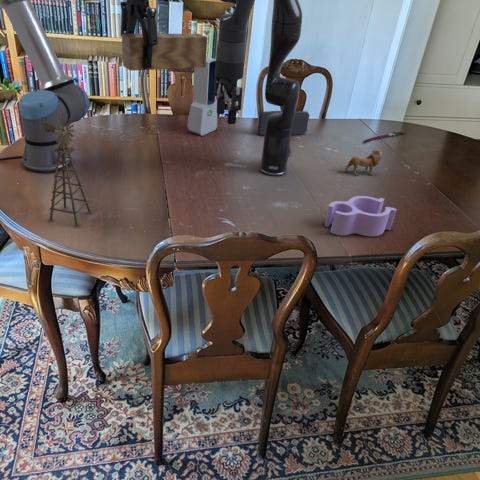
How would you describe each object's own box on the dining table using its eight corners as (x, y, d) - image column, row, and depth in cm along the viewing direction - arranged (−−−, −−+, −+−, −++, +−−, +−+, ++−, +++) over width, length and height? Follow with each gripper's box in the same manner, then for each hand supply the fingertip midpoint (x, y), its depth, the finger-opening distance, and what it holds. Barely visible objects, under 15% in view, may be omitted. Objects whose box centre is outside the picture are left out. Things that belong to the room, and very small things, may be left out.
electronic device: (200, 136, 194) (204, 61, 178) (186, 132, 197) (188, 57, 181) (217, 129, 203) (222, 57, 187) (203, 125, 206) (207, 53, 190)
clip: (337, 240, 135) (342, 219, 131) (318, 218, 145) (322, 198, 141) (395, 233, 141) (402, 213, 137) (373, 213, 151) (378, 194, 147)
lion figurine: (372, 168, 182) (378, 147, 177) (380, 174, 178) (386, 152, 173) (340, 171, 177) (345, 148, 172) (347, 177, 173) (352, 154, 168)
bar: (130, 70, 142) (129, 37, 137) (122, 65, 146) (121, 33, 141) (205, 67, 156) (207, 37, 150) (196, 63, 160) (198, 33, 154)
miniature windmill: (76, 226, 128) (64, 120, 112) (48, 221, 129) (32, 115, 113) (91, 211, 136) (82, 109, 120) (65, 206, 137) (52, 104, 121)
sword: (401, 131, 224) (402, 128, 223) (406, 133, 222) (407, 131, 221) (358, 142, 208) (358, 140, 207) (363, 145, 206) (363, 142, 205)
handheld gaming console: (303, 132, 210) (307, 110, 205) (306, 134, 208) (310, 112, 203) (256, 133, 203) (259, 111, 198) (258, 135, 201) (261, 113, 196)
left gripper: (171, -13, 131) (170, 71, 143) (126, -23, 141) (128, 57, 154) (150, -13, 126) (151, 74, 138) (105, -23, 136) (109, 59, 149)
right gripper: (254, 65, 119) (247, 126, 128) (233, 52, 129) (228, 110, 138) (227, 65, 116) (222, 128, 125) (207, 52, 127) (204, 111, 135)
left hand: (139, 65), depth 146 cm, fingers closed on bar, 7 cm apart
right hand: (225, 118), depth 131 cm, fingers open, 8 cm apart
